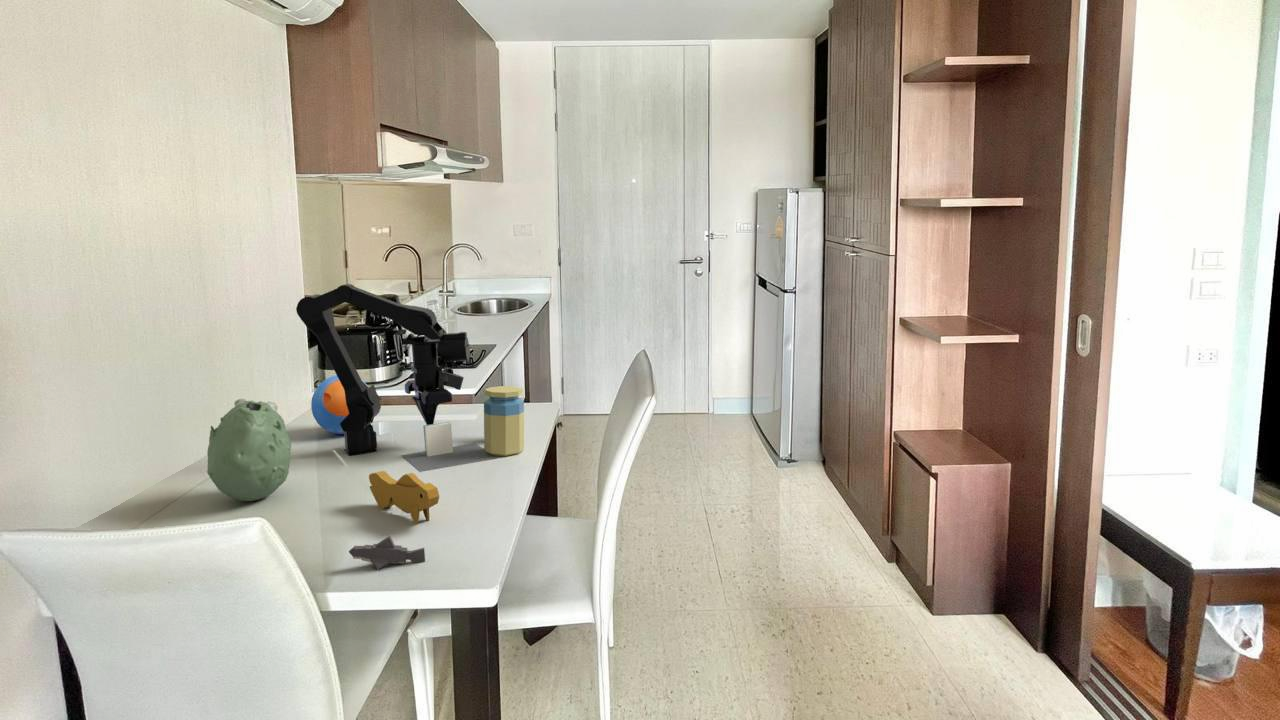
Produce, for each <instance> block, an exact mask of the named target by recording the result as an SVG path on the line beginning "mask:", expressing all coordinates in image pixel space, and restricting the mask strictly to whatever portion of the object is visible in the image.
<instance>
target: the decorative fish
mask: <svg viewBox="0 0 1280 720" xmlns="http://www.w3.org/2000/svg"><path fill="white" fill-rule="evenodd" d="M368 481H369V483H370V485H369V489H370V492H371V493H372V496H373V497H374V499H375V502H376V504H377V505H378V507H379V509H381V508H382V509H381V510H384V509H387V507H388V508H390V507H393V506H395V507H396V508H397V509H399V510H401V511H402V512H403V513H405V514H410V517H411V519H412V522H413V523H414V524H415V525H418V524H419V522H420V521H419V520H420V512H422V513H423V516H424V517H425V520H426V521H427V522H429V521H430V508H431V507H432V508H433V507H434V506H436V505H437V504H438V503H439V500H440V493H439V489H438V487H437V486H436V485H434V484H433V483H431V482H427V483H425V482H424V481H422V480H421V479H420V478H419V477H418V476H417V475H416V474H415V473H413V472H411V473H406V474H403V475H402V476H401V477H400V478H399V479H398V480H396V479H395V478H393V477H392V476H390V475H389V474H388V473H387V471H386V470H380V471H377V472H373V473H370V474H369V475H368Z"/></svg>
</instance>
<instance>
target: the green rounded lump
mask: <svg viewBox="0 0 1280 720" xmlns="http://www.w3.org/2000/svg"><path fill="white" fill-rule="evenodd" d="M208 439H209V440H208V442H209V443H208V447H207V453H206V455H207V471H206V473H207V475H208V477H209V478H210V480H211V481H212V483H213V484H214V486H215V487H216V488H217V489H218V491H220V492H221V494H224V495H226V496H228V497H229V498H230V499H233V500H237V501H240V502H241V501H242V502H255V501H258V500H262V499H264V498H267V497H269V496H270V495H272V494H273V493H274V492H275V491H276V490H278V488H279V487H280V486H282V485H283V483H285V481H286V480H287V478H288V476H289V471H290V460H291V458H292V454H291V450H292V448H291V447H292V442H291V439H290V436H289V434H288V430H287V428H286V424H285V420H284V419H283V417H282V416H281V415H280V413H278V405H277V404H276V403H275V402H273V401H267V402H263V401H261V400H260V401H254V400H246V399H245V398H240V399H237V400H235V401H234V407H232V408H230V410H229V411H228V412H226V414H224V415H223V416H222V417H220V423H218V426H217V427H215V428H214V426H213V425H210V431H209V438H208Z"/></svg>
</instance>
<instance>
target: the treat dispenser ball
mask: <svg viewBox="0 0 1280 720" xmlns="http://www.w3.org/2000/svg"><path fill="white" fill-rule="evenodd" d="M363 383H364V384H366V385H367V383H366V382H365V381H363ZM310 401H311V403H310V404H311V408H310V409H311V413H312V416H313V418H314V420H315V422H316V423H317V425H319V426H320V428H321V429H324V431H327V432H329V433H331V434H335V435H344V431H343V430H342V428H341V425H340V423H341V422H342V421H343V420H344V419H345V418H346V417H347V415H348V414H349V411H348V408H347V405H346V399H345V391H344V388H343V386H342V384H341V382H340V380H339V379H338V377H337V375H336V374H335V375H332V376H330V377H328V378H326V379H324V380H323V381H322V382H321V383H319V385H317V387H316V389H315V390H314V392H313V394H312V397H311V400H310Z"/></svg>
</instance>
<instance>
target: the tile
mask: <svg viewBox="0 0 1280 720" xmlns="http://www.w3.org/2000/svg"><path fill="white" fill-rule="evenodd" d="M423 437H424V451H425V453H426V455H427V456H434V455H440V454H446V453H452V452H453V447H454V446H453V431H452V423H451V422H449V421H444V422H438V423H433V424H430V425H427V424H424V425H423Z"/></svg>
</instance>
